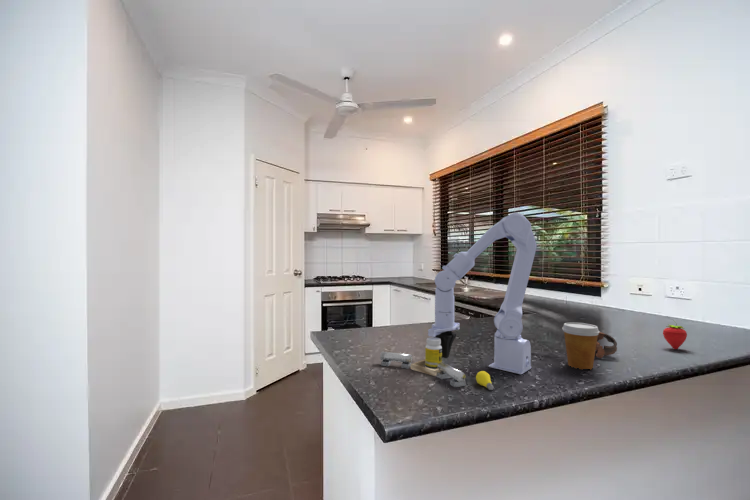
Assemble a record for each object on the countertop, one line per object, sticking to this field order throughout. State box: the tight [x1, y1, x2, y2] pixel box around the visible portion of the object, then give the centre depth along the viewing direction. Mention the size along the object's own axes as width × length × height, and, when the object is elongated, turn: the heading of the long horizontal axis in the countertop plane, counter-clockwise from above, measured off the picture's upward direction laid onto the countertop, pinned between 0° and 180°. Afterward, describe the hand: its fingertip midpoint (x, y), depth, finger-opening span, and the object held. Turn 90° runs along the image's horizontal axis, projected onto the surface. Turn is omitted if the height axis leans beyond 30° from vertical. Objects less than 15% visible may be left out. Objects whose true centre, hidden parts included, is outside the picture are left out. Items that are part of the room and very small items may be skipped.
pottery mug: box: [595, 331, 618, 359], centre depth 117 cm, size 12×10×8 cm
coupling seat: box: [410, 358, 441, 377], centre depth 100 cm, size 8×7×1 cm
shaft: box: [436, 361, 467, 388], centre depth 91 cm, size 9×3×4 cm, turn 22°
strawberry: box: [662, 320, 688, 350], centre depth 125 cm, size 6×8×10 cm
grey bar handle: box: [379, 351, 413, 370], centre depth 104 cm, size 9×3×4 cm, turn 72°
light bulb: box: [475, 370, 494, 391], centre depth 88 cm, size 3×6×4 cm, turn 14°
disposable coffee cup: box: [561, 322, 601, 370], centre depth 104 cm, size 10×10×12 cm
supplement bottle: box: [424, 336, 443, 370], centre depth 102 cm, size 5×5×8 cm
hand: (444, 357), depth 106 cm, fingers closed
